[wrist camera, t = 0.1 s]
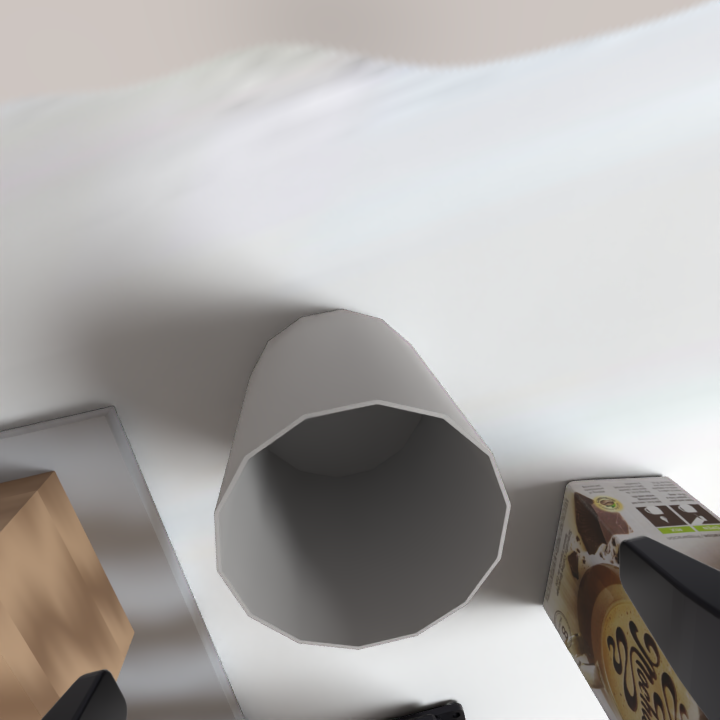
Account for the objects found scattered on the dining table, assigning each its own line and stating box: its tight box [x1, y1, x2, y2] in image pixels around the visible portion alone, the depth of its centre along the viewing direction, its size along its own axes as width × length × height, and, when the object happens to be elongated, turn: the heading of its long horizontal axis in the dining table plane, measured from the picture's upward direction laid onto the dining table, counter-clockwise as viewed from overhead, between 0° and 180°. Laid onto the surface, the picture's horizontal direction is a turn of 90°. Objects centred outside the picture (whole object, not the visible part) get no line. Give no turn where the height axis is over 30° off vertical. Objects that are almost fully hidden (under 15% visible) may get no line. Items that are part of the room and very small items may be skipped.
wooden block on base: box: [0, 406, 245, 720], centre depth 22 cm, size 23×16×8 cm
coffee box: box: [543, 477, 720, 720], centre depth 20 cm, size 9×6×16 cm
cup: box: [214, 309, 511, 650], centre depth 18 cm, size 8×8×10 cm
